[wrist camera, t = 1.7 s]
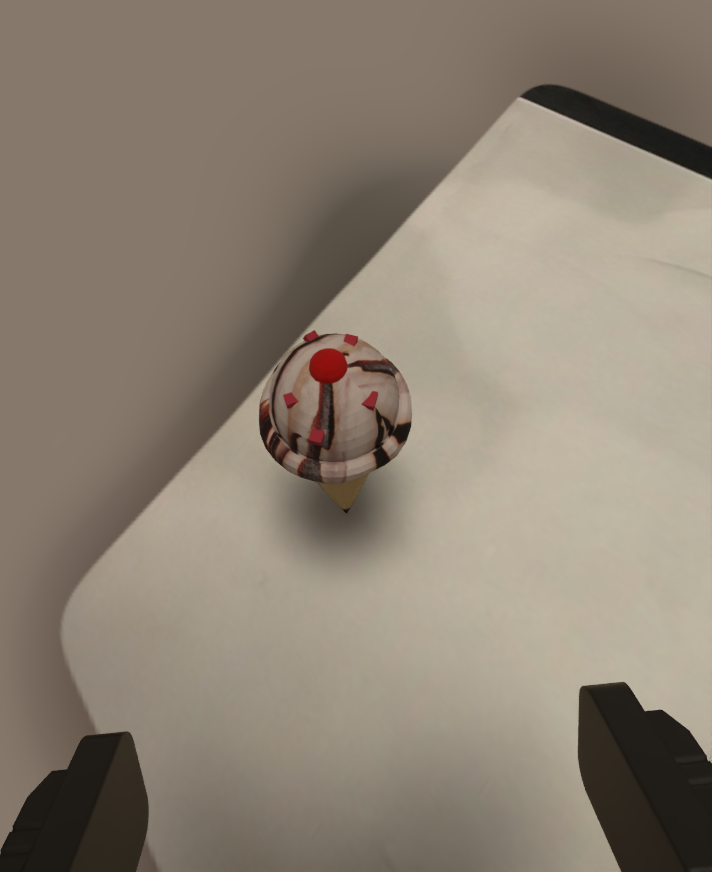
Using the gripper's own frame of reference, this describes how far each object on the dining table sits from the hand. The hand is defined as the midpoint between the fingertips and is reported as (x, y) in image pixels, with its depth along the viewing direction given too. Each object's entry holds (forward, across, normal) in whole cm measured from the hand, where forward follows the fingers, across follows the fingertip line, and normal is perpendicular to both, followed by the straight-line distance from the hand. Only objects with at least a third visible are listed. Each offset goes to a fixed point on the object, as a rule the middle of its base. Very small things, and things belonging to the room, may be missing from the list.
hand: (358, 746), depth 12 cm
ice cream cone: (+22, 0, +6) cm, 23 cm away
